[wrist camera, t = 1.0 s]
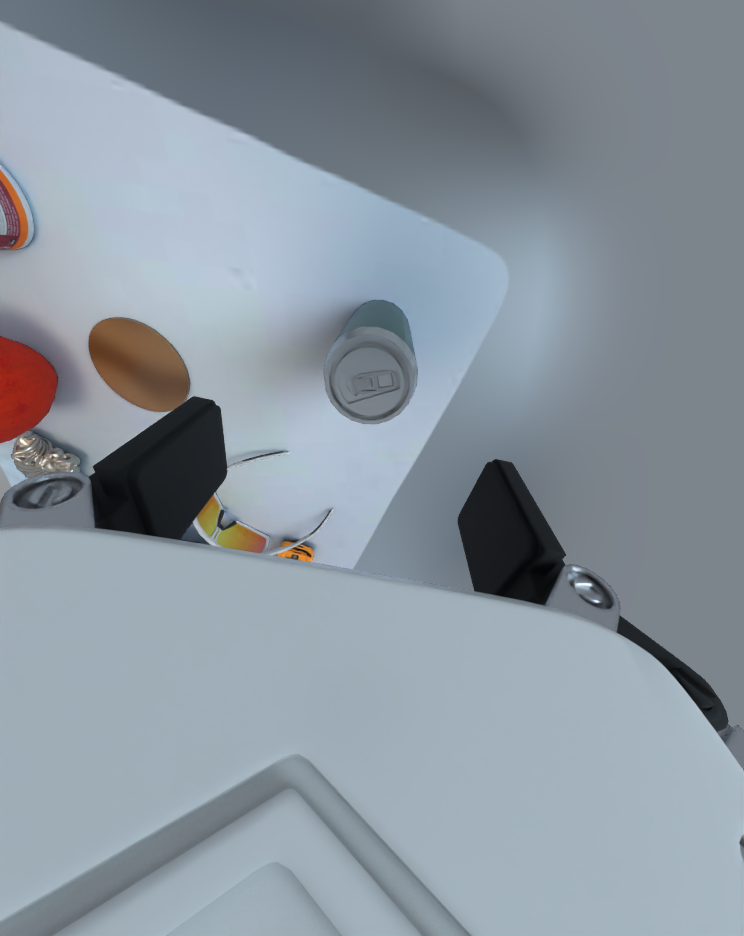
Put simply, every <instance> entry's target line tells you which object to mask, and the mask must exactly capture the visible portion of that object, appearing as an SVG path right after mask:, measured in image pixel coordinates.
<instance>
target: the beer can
mask: <svg viewBox="0 0 744 936" xmlns="http://www.w3.org/2000/svg"><path fill="white" fill-rule="evenodd" d="M417 375H418V369H417V364H416V358H415V353H414V348H413V342H412V337H411V332H410V327H409V323H408V319H407V318H406V316H405V315H404V313H403V311H402V310H401V309H400V308H398V307H397V306H396V305H395V304H394V303H391V302H388V301H385V300H372V301H369V302H367V303H364V304H363V305H361V306H360V307H359V308H358V309H357V310H355V312H354V313H353V315H352V316H351V318H350V319H349V321H348V322H347V324H346V325H345V327H344V329H343V330H342V332H341V333H340V335H339V336H338V338H337V339H336V341H335V342H334V344H333V346H332V347H331V349H330V351H329V352H328V354H327V356H326V361H325V366H324V380H325V389H326V392H327V394H328V397H329V399H330V401H331V403H332V404H333V405H334V407H335V408H336V409H337V410H338V411H339V412H340V413H341V414H342V415H344V416H345V417H347V418H349V419H350V420H352V421H356V422H359V423H362V424H379V423H382V422H386V421H389V420H391V419H392V418H394V417H396V416H397V415H399V414H400V413H401V412H402V411H403V410H404V408H405V407H406V406H407V405H408V404H409V401H410V399H411V398H412V395H413V393H414V390H415V388H416V386H417Z"/></svg>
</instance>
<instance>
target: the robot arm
mask: <svg viewBox="0 0 744 936" xmlns="http://www.w3.org/2000/svg"><path fill="white" fill-rule="evenodd" d="M93 468H94V470H95V473H94V474H92V475H91V476H90V477H87V476H85V475H84V474H81V473H77V472H67V471H61V472H52V473H47V474H42V475H38V476H35V477H32V478H29V479H27V480H24V481H22V482H20V483H18V484H17V485H15V486H13V487H12V488H11V489H9V490H8V491H7V492H6V493H5V494H4V496H3V498H2V499H1V503H0V936H744V730H743V729H742V728H741V727H740V726H739V725H737V726H734V727H731V726H730V725H729V724H728V717H727V713H726V710H725V708H724V706H723V704H722V702H721V700H720V699H719V698H718V696H717V695H716V693H715V692H714V691H713V689H712V688H711V686H710V685H709V684H708V683H707V682H706V681H705V680H704V679H703V678H702V677H701V676H700V675H698V674H697V673H696V672H695V671H693V670H692V669H691V668H690V667H688V666H687V665H686V664H684V663H683V662H682V661H680V660H679V659H678V658H676V657H675V656H674V655H672V654H671V653H670V652H668V651H667V650H666V649H664V648H663V647H662V646H660V645H659V644H658V643H656V642H655V641H653V640H652V639H651V638H649V637H648V636H647V635H645V634H644V633H643V632H641V631H640V630H639V629H637V628H636V627H635V626H633V625H632V624H631V623H629V622H628V621H627V620H625V619H624V618H622V617H621V616H620V609H621V608H620V601H619V599H618V597H617V594H616V593H615V592H614V590H613V589H612V588H611V586H610V585H608V583H607V582H606V581H605V580H604V579H602V578H601V577H600V576H598V575H597V574H596V573H594V572H593V571H591V570H589V569H587V568H585V567H582V566H579V565H574V564H569V565H565V564H564V562H563V560H562V559H563V558H564V557H565V556H566V554H565V552H564V550H563V549H562V547H561V545H560V543H559V542H558V540H557V538H556V537H555V535H554V533H553V531H552V530H551V528H550V526H549V525H548V523H547V521H546V519H545V518H544V516H543V514H542V513H541V511H540V509H539V508H538V506H537V504H536V502H535V501H534V499H533V497H532V496H531V494H530V492H529V490H528V489H527V487H526V485H525V483H524V482H523V480H522V478H521V477H520V475H519V473H518V471H517V470H516V468H515V466H514V465H513V463H511V462H507V461H502V460H497V459H495V460H493V461H492V462H488V463H487V464H486V465H485V467H484V469H483V471H482V473H481V475H480V476H479V478H478V480H477V482H476V484H475V486H474V488H473V490H472V492H471V493H470V495H469V497H468V499H467V501H466V503H465V504H464V507H463V508H462V510H461V512H460V514H459V517H458V526H459V530H460V534H461V538H462V542H463V547H464V551H465V554H466V559H467V562H468V567H469V571H470V575H471V579H472V583H473V587H474V591H471V590H465V589H460V588H454V587H448V586H443V585H437V584H432V583H426V582H420V581H415V580H409V579H404V578H398V577H392V576H387V575H381V574H376V573H370V572H364V571H358V570H353V569H347V568H341V567H335V566H330V565H324V564H318V563H312V562H306V561H301V560H295V559H289V558H283V557H277V556H271V555H265V554H260V553H254V552H248V551H242V550H236V549H230V548H224V547H218V546H212V545H206V544H200V543H194V542H188V541H182V540H179V539H180V538H181V537H182V536H183V534H184V533H185V532H186V530H187V529H188V528H189V526H190V525H191V524H192V522H193V521H194V520H195V518H196V517H197V516H198V514H199V513H200V512H201V510H202V509H203V508H204V506H205V505H206V504H207V502H208V501H209V500H210V498H211V497H212V496H213V494H214V493H215V492H216V490H217V489H218V488H219V487H220V485H221V484H222V483H223V481H224V480H225V478H226V475H227V462H226V453H225V444H224V435H223V426H222V417H221V409H220V407H219V406H217V405H216V404H215V402H214V401H213V400H209V399H205V398H200V397H191V398H190V399H189V400H187V401H186V402H184V403H183V404H181V405H180V406H179V407H177V408H176V409H174V410H173V411H171V412H170V413H169V414H167V415H166V416H164V417H163V418H161V419H160V420H159V421H157V422H156V423H154V424H153V425H151V426H150V427H148V428H147V429H146V430H144V431H143V432H141V433H140V434H138V435H137V436H136V437H134V438H133V439H131V440H130V441H128V442H127V443H126V444H124V445H123V446H121V447H120V448H118V449H117V450H115V451H114V452H113V453H111V454H110V455H108V456H107V457H105V458H104V459H103V460H101V461H100V462H98V463H97V464H95V465H94V466H93Z"/></svg>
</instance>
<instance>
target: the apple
mask: <svg viewBox="0 0 744 936" xmlns="http://www.w3.org/2000/svg"><path fill="white" fill-rule="evenodd" d="M57 382H58V377H57V374H56V372H55V370H54V368H53V366H52V365H51V364H50V363H49V362H48V361H47V360H46V359H45V358H44V357H43V356H42V355H41V354H39V353H38V352H36V351H35V350H33V349H32V348H30V347H29V346H27V345H24V344H22V343H19V342H16V341H13V340H10V339H7V338H4V337H1V336H0V443H3V442H6V441H10V440H12V439H14V438H16V437H18V436H19V435H21V434H23V433H25V432H26V431H28V430H30V429H32V428H33V427H35V426H36V425H37V424H38V423H39V422H40V421H41V420H42V419H43V418H44V417H45V416H46V415H47V413H48V412H49V410H50V408H51V405H52V403H53V400H54V398H55V393H56V388H57Z"/></svg>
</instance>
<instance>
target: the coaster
mask: <svg viewBox="0 0 744 936" xmlns="http://www.w3.org/2000/svg"><path fill="white" fill-rule="evenodd" d="M89 351H90V355H91V359H92V361H93V363H94V366H95V367H96V369H97V371H98V373H99V374H100V376H101V377H102V378H103V379H104V381H105V382H106V383H107V384H108V385H109V386H110V387H111V388H112V389H113V390H114V391H115V392H116V393H117V394H119V395H120V396H121V397H122V398H124V399H125V400H127V401H128V402H130V403H132V404H134V405H136V406H138V407H141V408H143V409H146V410H150V411H156V412H166V411H171V410H174V409H176V408H177V407H179V406H180V405H181V404H183V403H184V402H185V400H186V399H187V397H188V394H189V390H190V380H189V375H188V371H187V369H186V366H185V364H184V362H183V360H182V358H181V357H180V355H179V354H178V352H177V351H176V350H175V348H174V347H173V346H172V345H171V344H170V343H169V342H168V341H167V340H166V339H165V338H164V337H163V336H162V335H160V334H159V333H158V332H157V331H155V330H153V329H152V328H150V327H149V326H147V325H145V324H143V323H140V322H138V321H135V320H132V319H128V318H118V317H116V318H109V319H106V320H103V321H101V322H99V323H98V324H97V325H96V326H94V328H93V329H92V331H91V333H90V336H89Z"/></svg>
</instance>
